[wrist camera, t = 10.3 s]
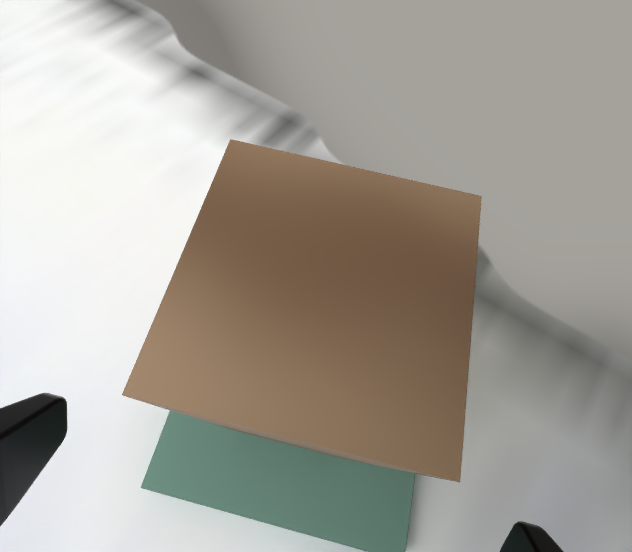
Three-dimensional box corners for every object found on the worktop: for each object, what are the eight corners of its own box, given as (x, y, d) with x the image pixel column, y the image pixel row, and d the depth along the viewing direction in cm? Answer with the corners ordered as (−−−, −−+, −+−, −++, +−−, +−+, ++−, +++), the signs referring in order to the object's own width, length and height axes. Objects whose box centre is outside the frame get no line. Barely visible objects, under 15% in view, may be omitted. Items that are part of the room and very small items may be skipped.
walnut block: (346, 459, 17) (460, 482, 6) (234, 430, 17) (122, 395, 6) (367, 348, 19) (481, 196, 8) (266, 323, 19) (230, 139, 8)
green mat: (397, 555, 17) (404, 561, 16) (148, 485, 17) (140, 487, 16) (430, 313, 21) (436, 307, 20) (231, 264, 21) (228, 255, 21)
